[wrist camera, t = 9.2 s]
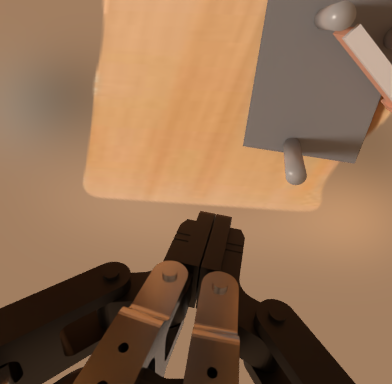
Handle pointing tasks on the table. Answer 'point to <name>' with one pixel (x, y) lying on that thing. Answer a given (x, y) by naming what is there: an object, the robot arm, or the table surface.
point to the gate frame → (314, 81)
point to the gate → (368, 60)
